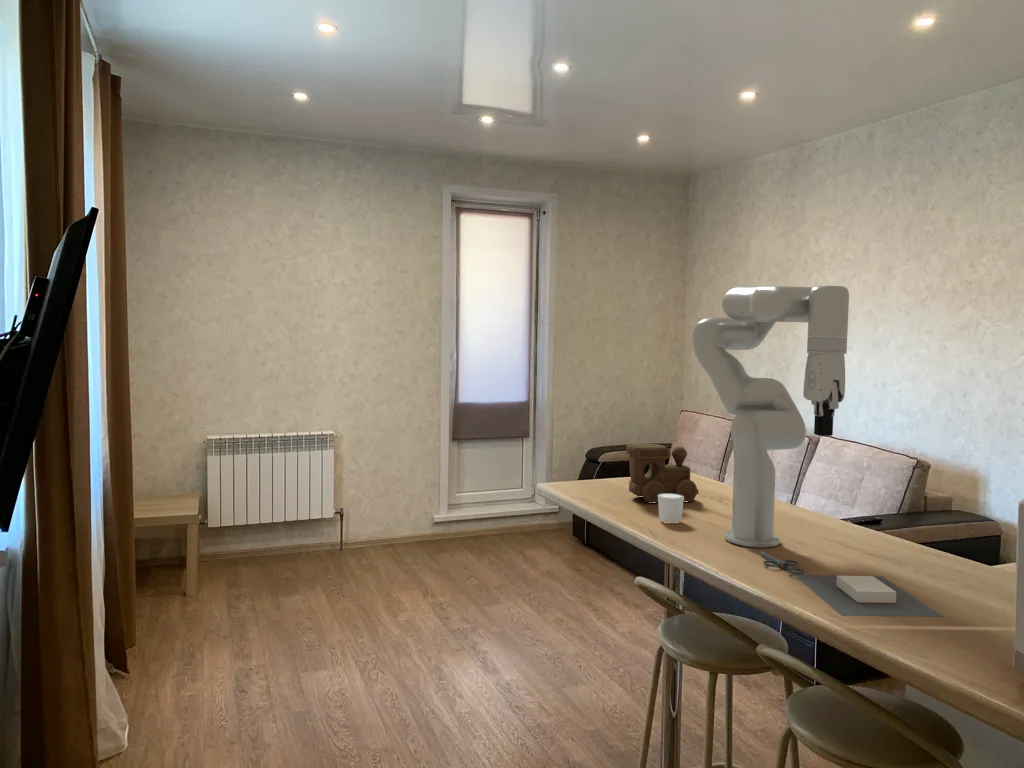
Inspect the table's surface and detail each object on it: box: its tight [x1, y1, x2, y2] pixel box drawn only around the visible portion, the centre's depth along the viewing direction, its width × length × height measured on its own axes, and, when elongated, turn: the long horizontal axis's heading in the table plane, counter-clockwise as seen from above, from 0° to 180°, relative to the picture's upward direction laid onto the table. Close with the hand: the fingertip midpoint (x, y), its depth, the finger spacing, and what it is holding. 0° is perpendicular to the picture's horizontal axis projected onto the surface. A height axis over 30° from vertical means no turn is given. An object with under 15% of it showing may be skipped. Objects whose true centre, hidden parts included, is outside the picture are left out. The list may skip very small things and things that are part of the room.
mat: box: [794, 574, 944, 618], centre depth 142 cm, size 22×18×1 cm
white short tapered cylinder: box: [657, 493, 684, 522], centre depth 198 cm, size 7×7×7 cm
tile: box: [836, 575, 896, 604], centre depth 141 cm, size 2×7×9 cm
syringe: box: [757, 550, 805, 575], centre depth 160 cm, size 8×18×2 cm, turn 9°
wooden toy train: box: [625, 443, 699, 503], centre depth 223 cm, size 20×11×17 cm, turn 102°
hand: (823, 435), depth 154 cm, fingers closed
